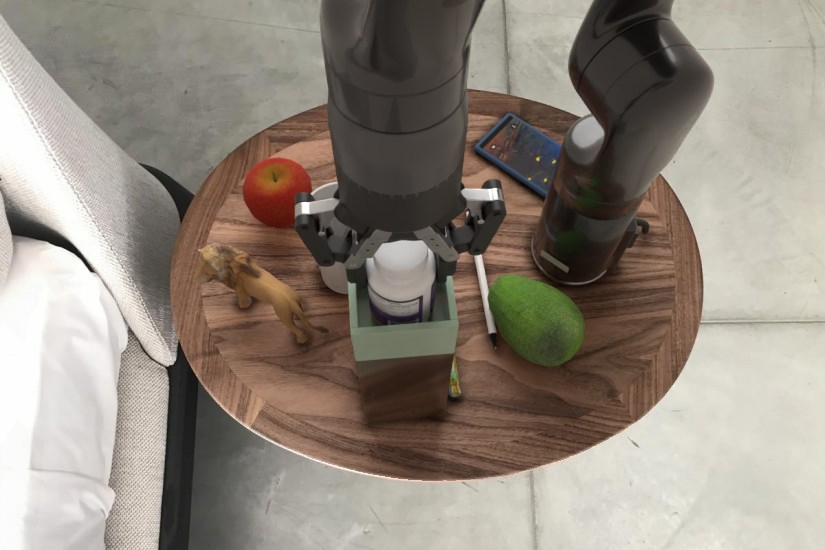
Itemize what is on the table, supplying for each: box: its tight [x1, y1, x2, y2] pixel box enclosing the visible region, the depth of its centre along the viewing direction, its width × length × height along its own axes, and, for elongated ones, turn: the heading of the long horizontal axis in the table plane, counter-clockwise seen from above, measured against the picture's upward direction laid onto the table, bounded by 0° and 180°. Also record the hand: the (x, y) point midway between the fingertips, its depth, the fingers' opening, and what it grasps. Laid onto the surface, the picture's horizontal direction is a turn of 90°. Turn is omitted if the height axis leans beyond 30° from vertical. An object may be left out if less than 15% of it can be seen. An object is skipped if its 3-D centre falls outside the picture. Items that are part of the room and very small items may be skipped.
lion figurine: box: [194, 242, 330, 344], centre depth 77 cm, size 15×5×9 cm, turn 66°
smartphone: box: [473, 112, 562, 199], centre depth 90 cm, size 8×1×15 cm
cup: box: [311, 181, 348, 295], centre depth 78 cm, size 8×8×12 cm
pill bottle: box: [365, 240, 437, 326], centre depth 56 cm, size 5×5×10 cm
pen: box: [465, 208, 498, 350], centre depth 82 cm, size 1×19×1 cm, turn 7°
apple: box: [242, 156, 313, 230], centre depth 83 cm, size 8×8×8 cm
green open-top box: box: [347, 253, 460, 423], centre depth 67 cm, size 8×8×24 cm
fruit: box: [487, 273, 586, 367], centre depth 76 cm, size 8×8×12 cm
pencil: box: [448, 352, 462, 398], centre depth 80 cm, size 1×1×18 cm
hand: (401, 274), depth 55 cm, fingers closed on pill bottle, 5 cm apart
